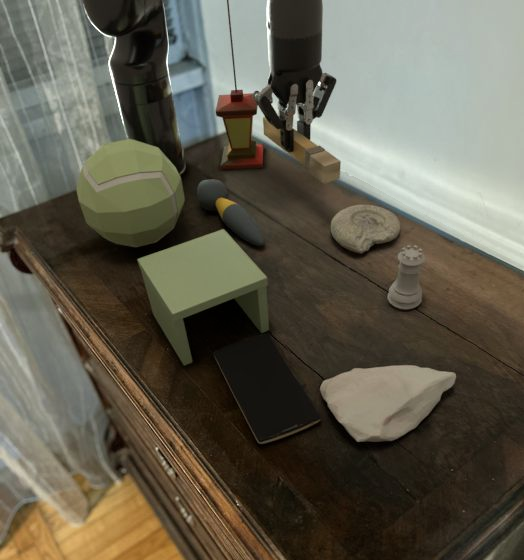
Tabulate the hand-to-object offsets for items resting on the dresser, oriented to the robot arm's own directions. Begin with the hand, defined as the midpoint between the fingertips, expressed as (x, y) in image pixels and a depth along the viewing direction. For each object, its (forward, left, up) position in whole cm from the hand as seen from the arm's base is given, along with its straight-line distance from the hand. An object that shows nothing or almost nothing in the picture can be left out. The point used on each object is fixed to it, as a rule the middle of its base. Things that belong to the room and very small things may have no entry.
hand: (295, 147), depth 88 cm
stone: (+44, -14, -9) cm, 47 cm away
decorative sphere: (-3, -27, -9) cm, 28 cm away
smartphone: (+35, -25, -8) cm, 44 cm away
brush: (0, 0, -1) cm, 1 cm away
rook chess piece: (+31, -2, -9) cm, 32 cm away
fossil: (+16, +2, -9) cm, 18 cm away
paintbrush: (+1, -13, -9) cm, 15 cm away
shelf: (+21, -26, -8) cm, 34 cm away
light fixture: (-17, -2, -9) cm, 19 cm away
